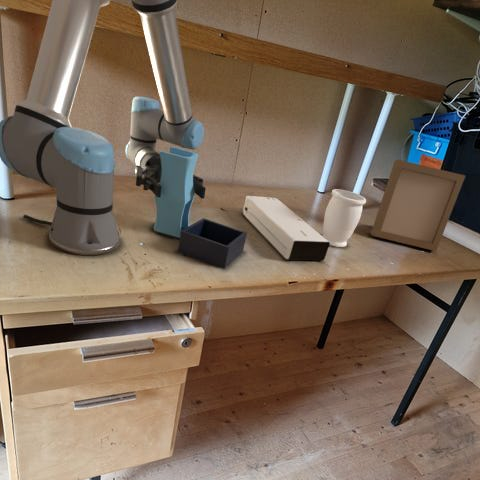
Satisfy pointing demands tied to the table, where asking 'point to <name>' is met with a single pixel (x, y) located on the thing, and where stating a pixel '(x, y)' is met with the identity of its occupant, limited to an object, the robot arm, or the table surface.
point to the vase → (175, 191)
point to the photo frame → (417, 204)
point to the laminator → (284, 229)
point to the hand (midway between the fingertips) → (182, 192)
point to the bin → (212, 242)
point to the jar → (342, 216)
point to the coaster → (167, 234)
